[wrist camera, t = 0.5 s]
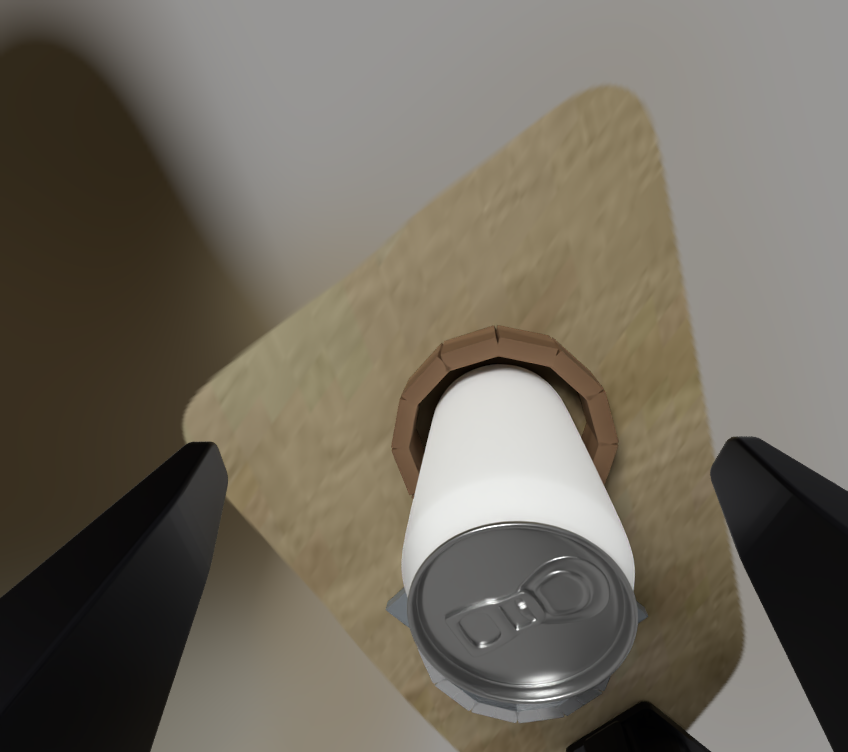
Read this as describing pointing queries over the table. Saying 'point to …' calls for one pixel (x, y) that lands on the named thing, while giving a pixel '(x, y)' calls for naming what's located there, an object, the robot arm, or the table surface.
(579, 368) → the brown segmented ring
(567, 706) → the dock
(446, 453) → the can
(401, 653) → the table surface
